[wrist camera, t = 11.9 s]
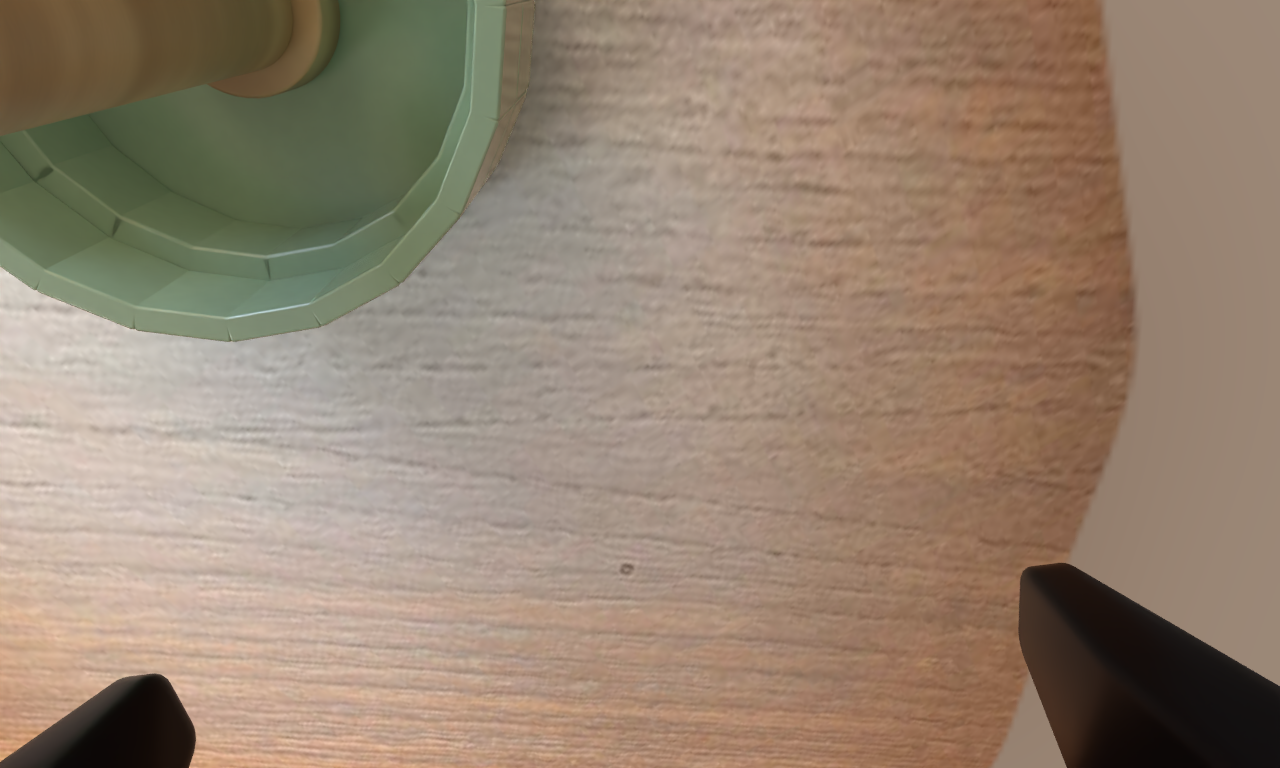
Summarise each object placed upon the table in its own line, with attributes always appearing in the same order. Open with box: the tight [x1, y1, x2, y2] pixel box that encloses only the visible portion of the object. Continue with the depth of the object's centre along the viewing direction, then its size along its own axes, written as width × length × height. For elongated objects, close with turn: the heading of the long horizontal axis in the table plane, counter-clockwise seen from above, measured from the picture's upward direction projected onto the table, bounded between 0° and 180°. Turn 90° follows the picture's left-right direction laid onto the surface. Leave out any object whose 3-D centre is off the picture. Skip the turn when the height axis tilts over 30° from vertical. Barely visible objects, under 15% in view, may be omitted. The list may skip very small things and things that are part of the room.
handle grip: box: [0, 0, 340, 136], centre depth 11 cm, size 3×3×12 cm
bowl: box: [0, 0, 535, 342], centre depth 15 cm, size 11×11×5 cm
